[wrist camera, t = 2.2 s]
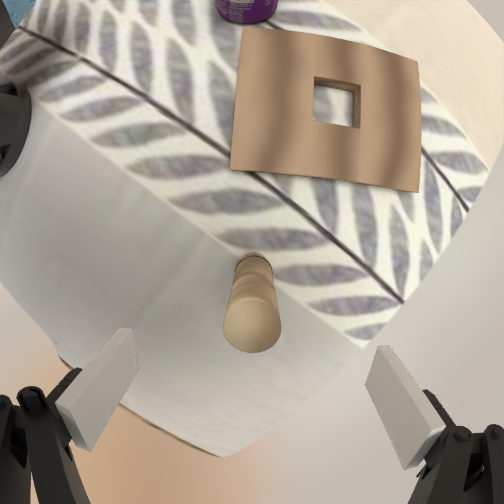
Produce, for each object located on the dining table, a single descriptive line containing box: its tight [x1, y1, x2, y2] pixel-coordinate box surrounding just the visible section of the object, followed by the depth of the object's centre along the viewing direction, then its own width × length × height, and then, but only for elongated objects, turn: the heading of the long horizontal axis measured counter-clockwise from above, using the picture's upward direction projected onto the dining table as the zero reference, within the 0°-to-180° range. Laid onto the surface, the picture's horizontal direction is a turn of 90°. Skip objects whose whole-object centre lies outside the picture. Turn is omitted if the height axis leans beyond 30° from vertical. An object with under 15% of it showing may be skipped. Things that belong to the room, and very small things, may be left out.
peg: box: [223, 253, 281, 353], centre depth 24 cm, size 4×4×14 cm
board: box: [230, 27, 421, 193], centre depth 25 cm, size 20×16×2 cm
